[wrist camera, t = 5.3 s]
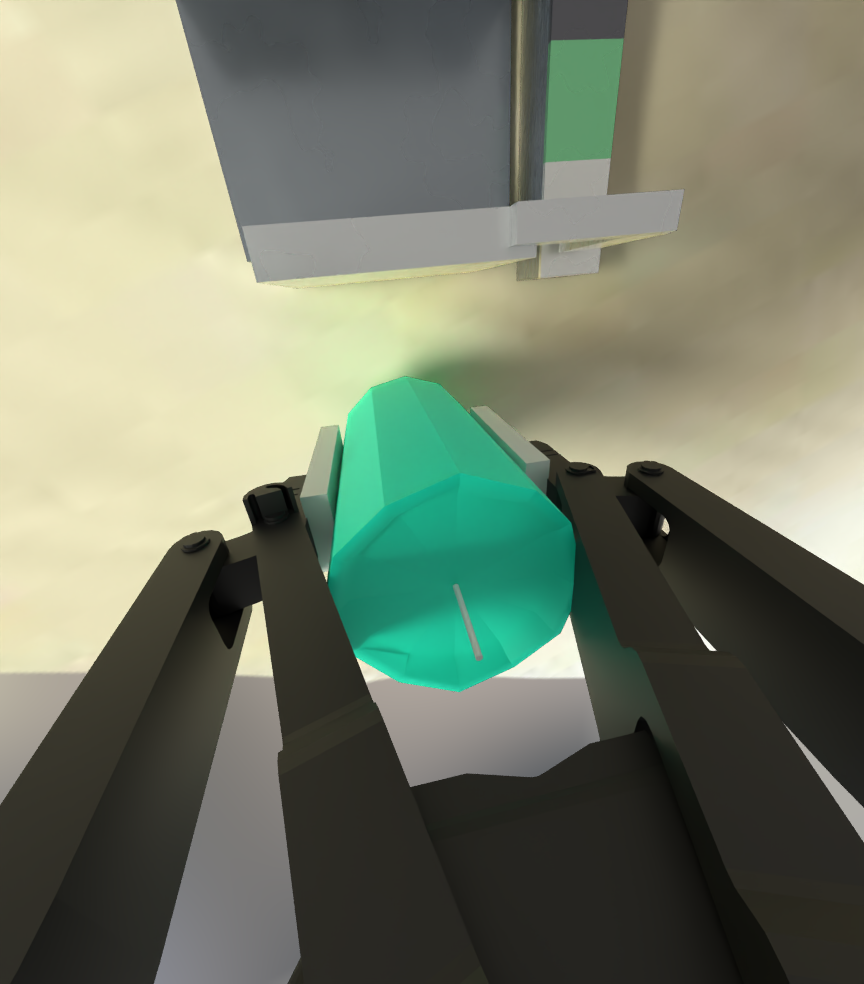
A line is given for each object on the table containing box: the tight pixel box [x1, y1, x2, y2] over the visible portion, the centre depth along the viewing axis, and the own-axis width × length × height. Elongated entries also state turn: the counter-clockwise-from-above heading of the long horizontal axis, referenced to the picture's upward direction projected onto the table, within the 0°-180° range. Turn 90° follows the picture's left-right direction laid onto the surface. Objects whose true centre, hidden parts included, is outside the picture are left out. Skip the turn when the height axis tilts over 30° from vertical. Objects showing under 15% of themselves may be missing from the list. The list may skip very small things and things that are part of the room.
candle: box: [327, 376, 576, 692], centre depth 12 cm, size 6×6×12 cm
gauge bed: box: [176, 0, 628, 281], centre depth 12 cm, size 14×9×6 cm
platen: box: [242, 189, 684, 289], centre depth 13 cm, size 12×1×7 cm, turn 95°
